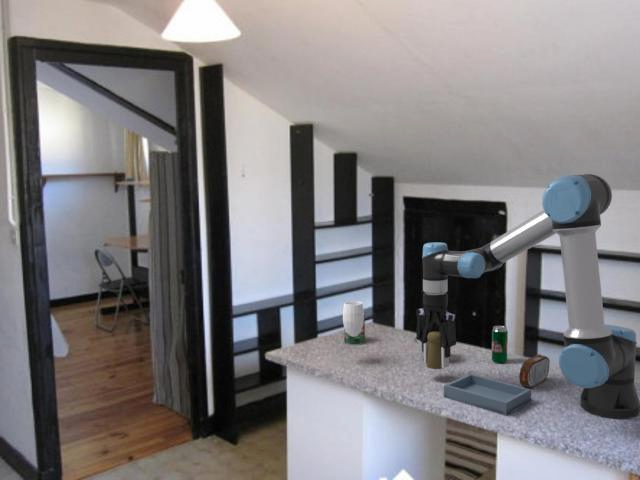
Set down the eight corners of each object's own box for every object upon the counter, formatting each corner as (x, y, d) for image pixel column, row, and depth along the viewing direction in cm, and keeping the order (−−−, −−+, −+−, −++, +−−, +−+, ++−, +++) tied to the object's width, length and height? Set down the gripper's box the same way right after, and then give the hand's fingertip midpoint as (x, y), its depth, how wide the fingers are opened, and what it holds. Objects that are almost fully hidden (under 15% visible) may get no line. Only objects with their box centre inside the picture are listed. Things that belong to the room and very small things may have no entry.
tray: (531, 401, 184) (531, 389, 183) (505, 415, 174) (506, 403, 173) (470, 384, 198) (470, 373, 197) (443, 396, 188) (443, 385, 188)
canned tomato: (358, 346, 240) (358, 317, 238) (340, 343, 244) (339, 315, 242) (368, 341, 246) (368, 313, 245) (350, 338, 250) (350, 310, 249)
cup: (361, 366, 217) (360, 306, 214) (340, 364, 219) (339, 304, 216) (366, 359, 223) (366, 301, 221) (346, 358, 226) (345, 300, 223)
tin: (541, 376, 204) (542, 351, 203) (551, 379, 202) (551, 353, 201) (517, 389, 193) (518, 362, 192) (527, 391, 191) (528, 364, 190)
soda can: (488, 361, 220) (489, 327, 218) (498, 358, 223) (498, 324, 221) (500, 364, 216) (501, 330, 214) (510, 361, 219) (510, 327, 217)
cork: (445, 369, 199) (445, 334, 198) (426, 368, 200) (425, 334, 199) (446, 363, 205) (445, 329, 204) (426, 362, 206) (426, 329, 205)
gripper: (468, 294, 196) (468, 368, 198) (417, 287, 209) (418, 356, 212) (454, 298, 191) (455, 374, 193) (403, 290, 204) (404, 361, 207)
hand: (436, 364), depth 202 cm, fingers closed on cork, 6 cm apart
